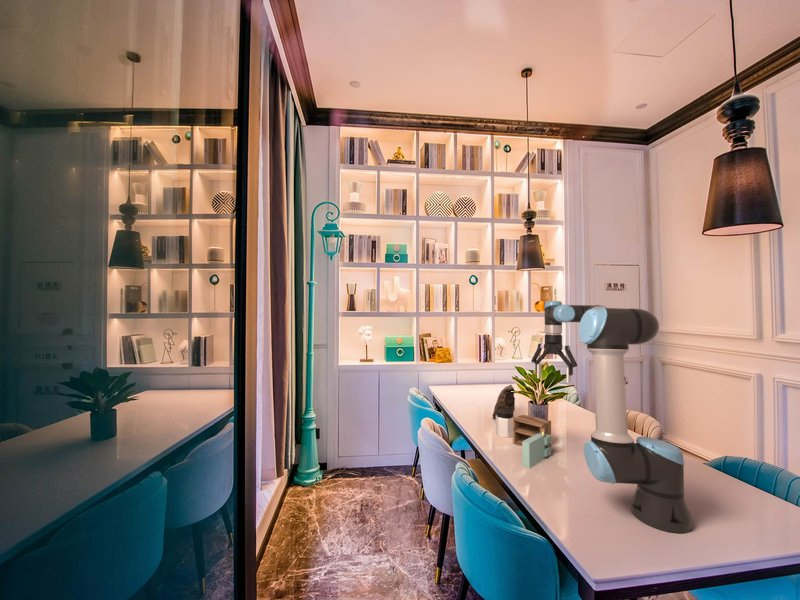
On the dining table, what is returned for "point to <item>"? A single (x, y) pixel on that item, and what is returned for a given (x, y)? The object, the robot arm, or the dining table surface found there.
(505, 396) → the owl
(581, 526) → the dining table surface
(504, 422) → the jar
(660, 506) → the robot arm
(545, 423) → the cabinet
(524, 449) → the door
